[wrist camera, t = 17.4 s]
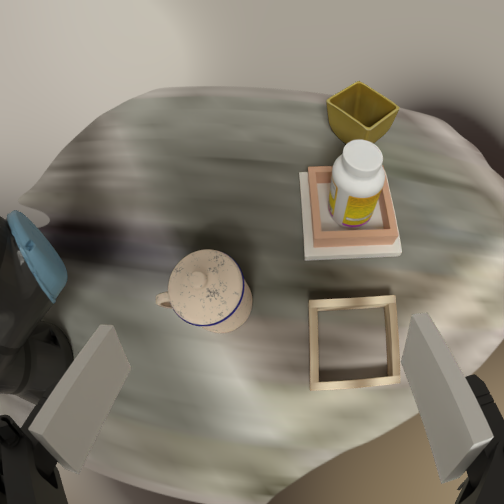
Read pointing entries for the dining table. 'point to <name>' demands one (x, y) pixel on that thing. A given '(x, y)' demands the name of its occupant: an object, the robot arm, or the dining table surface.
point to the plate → (337, 237)
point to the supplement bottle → (356, 184)
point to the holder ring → (391, 340)
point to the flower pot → (360, 113)
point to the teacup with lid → (208, 292)
